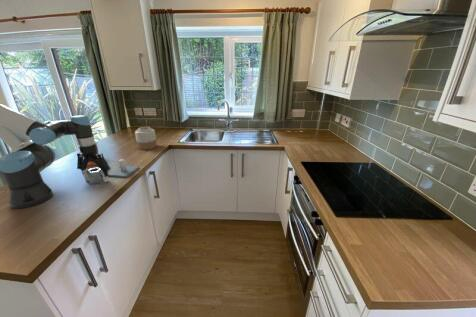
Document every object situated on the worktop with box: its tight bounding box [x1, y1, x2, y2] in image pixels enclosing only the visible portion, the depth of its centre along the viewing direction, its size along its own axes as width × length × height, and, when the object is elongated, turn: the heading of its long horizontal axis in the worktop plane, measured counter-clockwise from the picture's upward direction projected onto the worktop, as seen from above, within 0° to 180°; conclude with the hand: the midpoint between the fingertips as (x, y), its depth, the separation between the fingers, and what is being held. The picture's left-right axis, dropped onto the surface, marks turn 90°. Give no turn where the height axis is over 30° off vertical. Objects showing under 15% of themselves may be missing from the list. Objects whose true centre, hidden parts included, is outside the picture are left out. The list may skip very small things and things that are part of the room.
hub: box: [87, 167, 104, 185], centre depth 117 cm, size 7×7×7 cm
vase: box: [134, 126, 158, 151], centre depth 173 cm, size 15×15×17 cm
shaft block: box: [108, 158, 140, 179], centre depth 128 cm, size 14×12×8 cm
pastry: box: [86, 159, 109, 170], centre depth 132 cm, size 17×15×8 cm
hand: (97, 180), depth 119 cm, fingers open, 11 cm apart
